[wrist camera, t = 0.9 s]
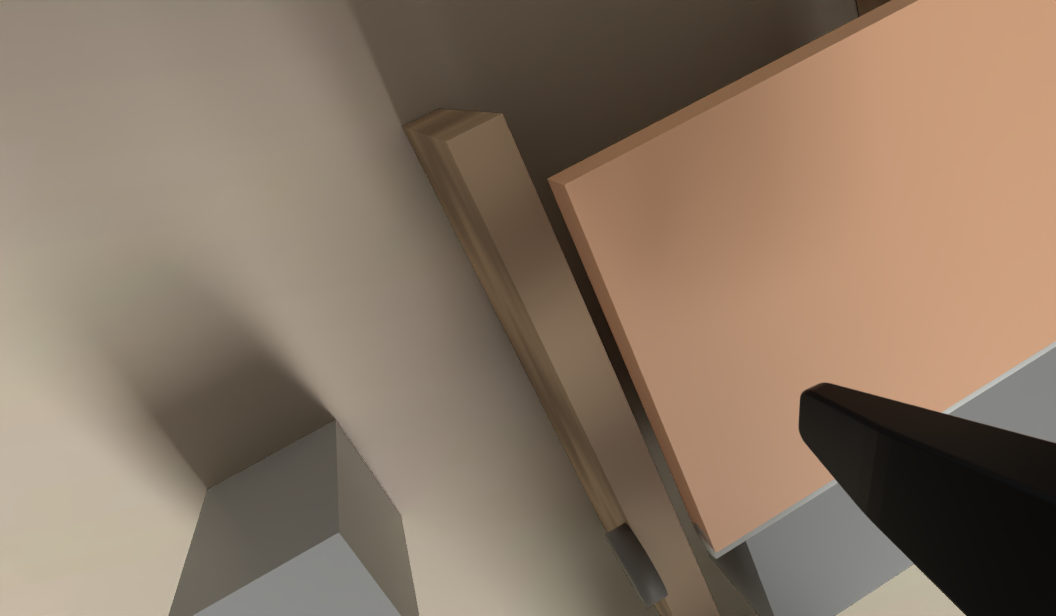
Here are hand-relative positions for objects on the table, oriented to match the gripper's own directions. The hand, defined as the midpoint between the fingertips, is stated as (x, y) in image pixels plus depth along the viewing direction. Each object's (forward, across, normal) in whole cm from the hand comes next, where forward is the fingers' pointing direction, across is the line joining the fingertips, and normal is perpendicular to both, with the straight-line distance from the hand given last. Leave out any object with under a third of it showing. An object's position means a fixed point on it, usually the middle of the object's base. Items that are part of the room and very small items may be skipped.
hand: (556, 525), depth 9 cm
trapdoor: (+7, -11, +4) cm, 14 cm away
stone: (+11, +5, +8) cm, 15 cm away
